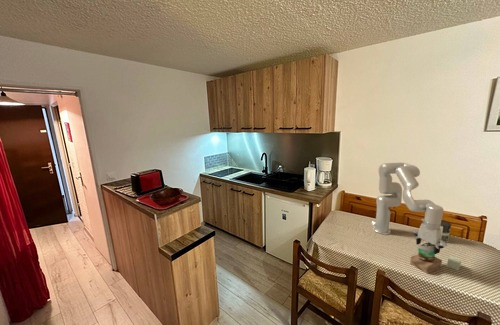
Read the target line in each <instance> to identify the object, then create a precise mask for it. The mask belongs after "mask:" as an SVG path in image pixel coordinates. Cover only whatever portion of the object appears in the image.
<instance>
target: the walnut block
mask: <svg viewBox="0 0 500 325" xmlns="http://www.w3.org/2000/svg"><path fill="white" fill-rule="evenodd" d="M442 262H443V260H442V259H441V258H439V257H436V256H435V258H434V261H433V262H427V261H423V260H420V259H419V254H416V255H413V256H411V257H410V265H411V266H414V267H415V268H417V269H418V270H420V271H422V272H423V273H425V274H429V273H431V272H433V271H435V270H438V269H440V268H441V267H442ZM437 268H438V269H437ZM430 271H431V272H430Z"/></svg>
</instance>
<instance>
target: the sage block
mask: <svg viewBox="0 0 500 325" xmlns="http://www.w3.org/2000/svg"><path fill="white" fill-rule="evenodd" d="M461 264H462V259H459V258H457V257H454V256H451V255H450V256H449V257H448V259H447V264H446V266H447V267H449V268H452V269H454V270H456V271H459V269H460V268H461Z"/></svg>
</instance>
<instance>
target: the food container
mask: <svg viewBox="0 0 500 325" xmlns="http://www.w3.org/2000/svg"><path fill="white" fill-rule="evenodd" d="M435 248H436V246H435V245H433V244H431V243H429V242H425V243H422V244H418V245H417V249H418V250H417V252H418V254H419V259H420V260H423V261H427V262H433V261H434V258H435V257H436V254H434V251H435ZM418 254H417V255H418Z"/></svg>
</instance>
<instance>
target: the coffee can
mask: <svg viewBox="0 0 500 325" xmlns="http://www.w3.org/2000/svg"><path fill="white" fill-rule="evenodd" d="M440 229H441V240H443V241H444V242H445V243H446V244H447V243H448V242H449V239H450V234H451V229H452V223H450V222H449V221H447V220H444V219H442V220H441V225H440Z"/></svg>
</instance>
